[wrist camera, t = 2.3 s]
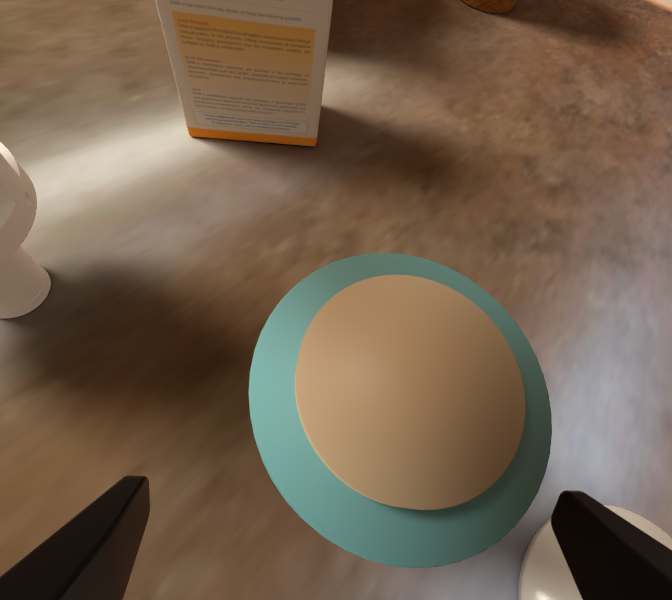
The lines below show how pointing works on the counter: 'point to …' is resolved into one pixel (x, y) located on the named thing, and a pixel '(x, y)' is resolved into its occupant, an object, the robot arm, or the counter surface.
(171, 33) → the supplement box
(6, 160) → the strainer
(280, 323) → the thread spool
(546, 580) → the coaster
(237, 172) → the counter surface
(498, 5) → the disposable coffee cup
